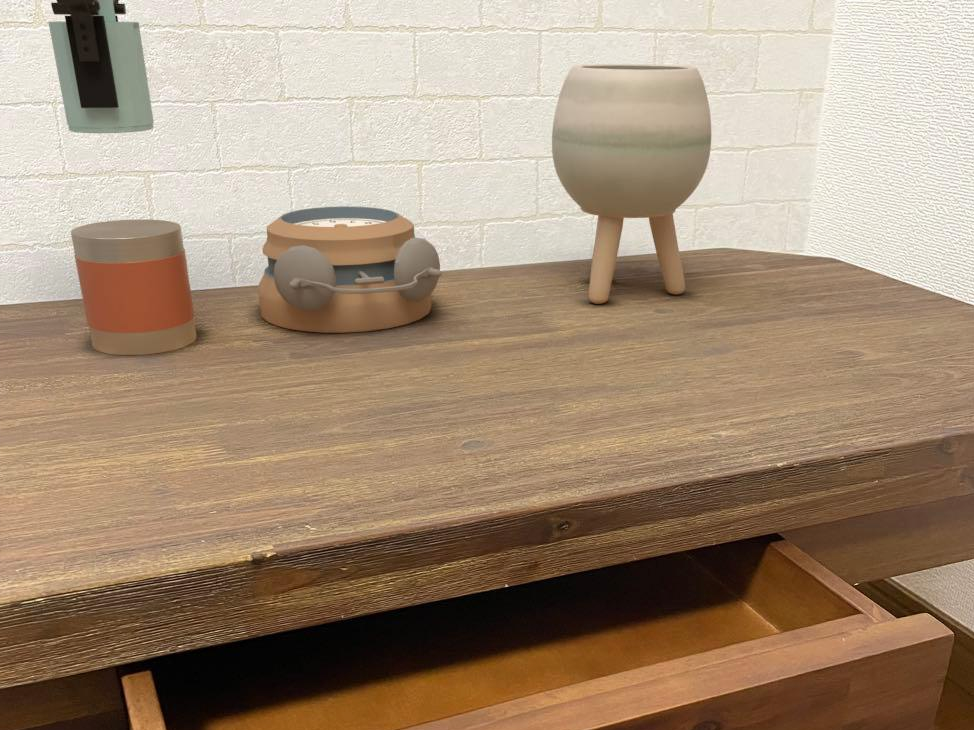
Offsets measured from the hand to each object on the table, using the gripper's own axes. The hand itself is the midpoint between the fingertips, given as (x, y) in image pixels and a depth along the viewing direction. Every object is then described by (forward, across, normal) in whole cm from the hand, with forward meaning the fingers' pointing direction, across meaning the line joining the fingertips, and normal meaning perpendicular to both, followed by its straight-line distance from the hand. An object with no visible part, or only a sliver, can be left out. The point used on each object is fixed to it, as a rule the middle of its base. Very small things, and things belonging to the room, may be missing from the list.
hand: (106, 103), depth 86 cm
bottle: (+2, 0, 0) cm, 2 cm away
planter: (+20, +10, -48) cm, 53 cm away
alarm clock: (+20, +5, -19) cm, 28 cm away
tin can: (+20, 0, 0) cm, 20 cm away
